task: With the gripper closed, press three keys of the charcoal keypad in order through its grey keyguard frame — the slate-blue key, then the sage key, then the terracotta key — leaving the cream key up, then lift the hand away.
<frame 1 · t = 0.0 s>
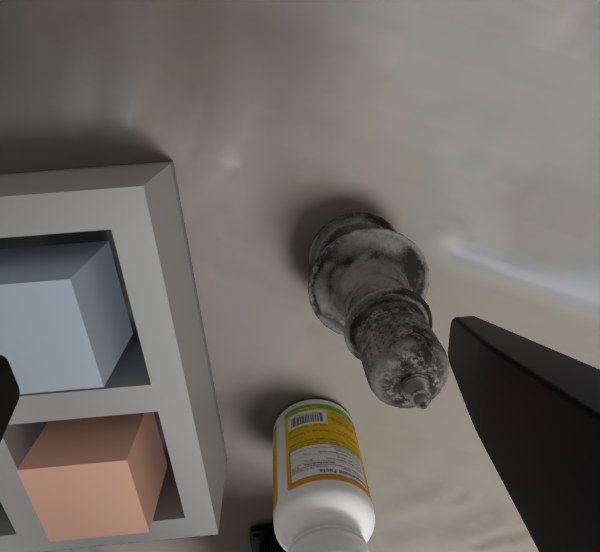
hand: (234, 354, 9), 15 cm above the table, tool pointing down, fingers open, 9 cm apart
grey chess piece: (355, 257, 24), on the table
key terracotta: (101, 467, 23), point 5 cm above the table, slide at 0.0 cm
supplement bottle: (312, 426, 29), on the table
key slate: (48, 315, 19), point 5 cm above the table, slide at 0.0 cm
keypad: (32, 349, 25), on the table
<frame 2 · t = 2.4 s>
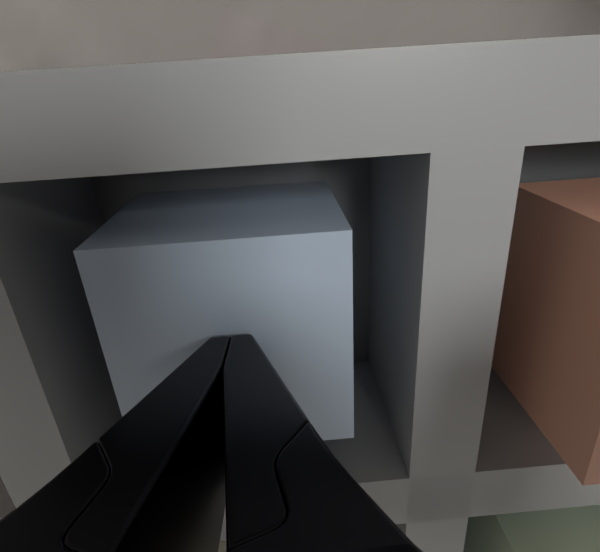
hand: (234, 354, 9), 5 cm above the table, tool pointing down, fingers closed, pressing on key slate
key slate: (238, 306, 11), point 3 cm above the table, slide at 1.8 cm, touching gripper
keypad: (387, 366, 16), on the table
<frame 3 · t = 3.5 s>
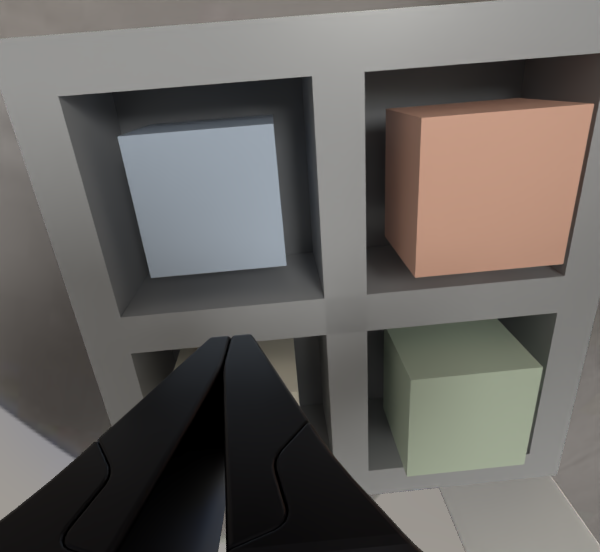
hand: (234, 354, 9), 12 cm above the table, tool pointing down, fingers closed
key terracotta: (469, 182, 15), point 5 cm above the table, slide at 0.0 cm
key sage: (451, 390, 19), point 5 cm above the table, slide at 0.0 cm
key cream: (242, 411, 19), point 5 cm above the table, slide at 0.0 cm
milk: (490, 469, 29), on the table
key slate: (215, 191, 17), point 3 cm above the table, slide at 2.0 cm
keypad: (328, 261, 22), on the table
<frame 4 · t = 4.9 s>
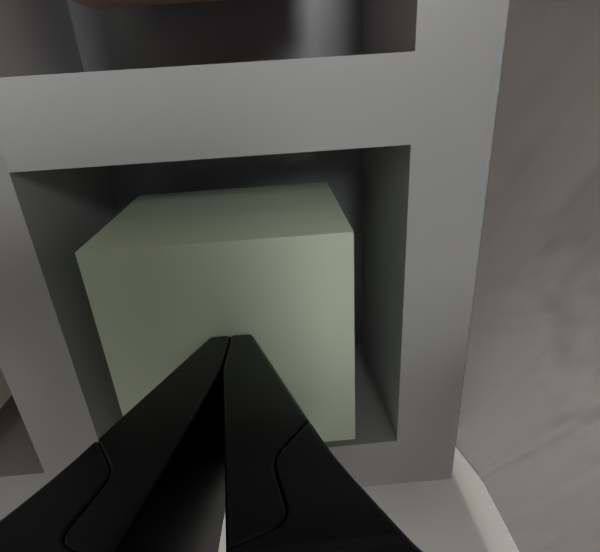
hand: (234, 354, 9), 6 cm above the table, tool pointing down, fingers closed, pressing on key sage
key sage: (239, 308, 11), point 4 cm above the table, slide at 0.5 cm, touching gripper
milk: (393, 469, 20), on the table
keypad: (73, 110, 13), on the table
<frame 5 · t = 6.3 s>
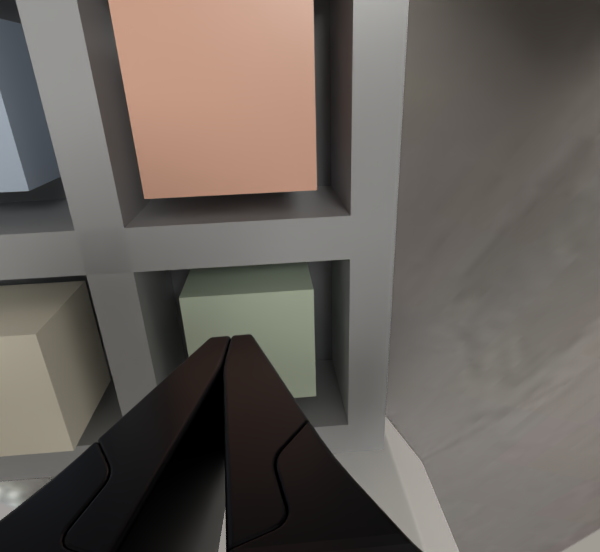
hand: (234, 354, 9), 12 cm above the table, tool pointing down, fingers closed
key terracotta: (228, 99, 14), point 5 cm above the table, slide at 0.0 cm
key sage: (253, 323, 19), point 3 cm above the table, slide at 2.0 cm
key cream: (13, 365, 17), point 5 cm above the table, slide at 0.0 cm
milk: (356, 452, 27), on the table
keypad: (145, 210, 20), on the table
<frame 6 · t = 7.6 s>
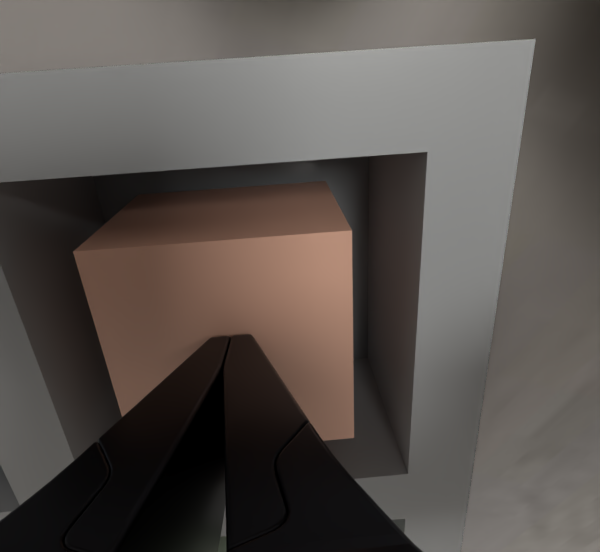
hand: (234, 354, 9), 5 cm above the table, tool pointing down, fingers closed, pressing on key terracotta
key terracotta: (238, 307, 11), point 3 cm above the table, slide at 1.6 cm, touching gripper
key sage: (270, 536, 15), point 3 cm above the table, slide at 2.0 cm
keypad: (130, 386, 16), on the table
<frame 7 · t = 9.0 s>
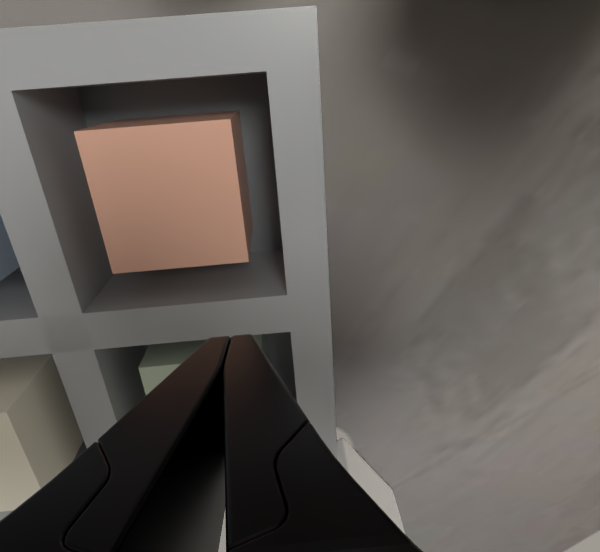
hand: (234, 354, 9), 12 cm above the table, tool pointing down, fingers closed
key terracotta: (179, 187, 17), point 3 cm above the table, slide at 2.0 cm
key sage: (215, 379, 21), point 3 cm above the table, slide at 2.0 cm
milk: (329, 482, 28), on the table
keypad: (113, 275, 21), on the table
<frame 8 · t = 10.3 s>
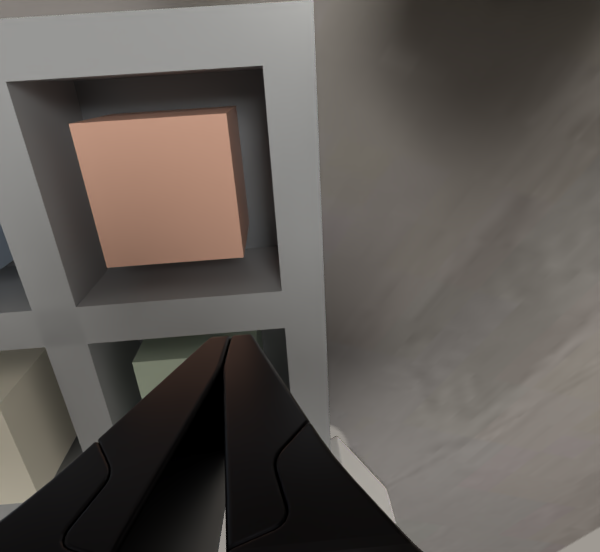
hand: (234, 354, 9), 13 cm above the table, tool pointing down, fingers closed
key terracotta: (175, 182, 17), point 3 cm above the table, slide at 2.0 cm
key sage: (209, 375, 21), point 3 cm above the table, slide at 2.0 cm
milk: (324, 480, 28), on the table
keypad: (109, 269, 21), on the table
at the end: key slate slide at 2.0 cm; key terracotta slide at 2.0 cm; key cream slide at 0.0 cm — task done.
